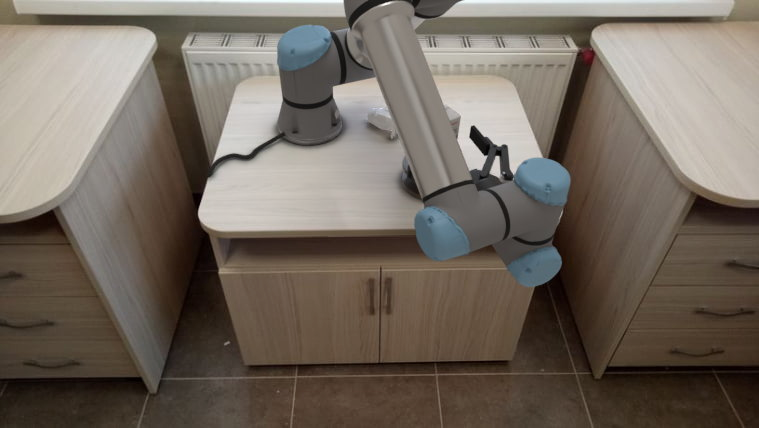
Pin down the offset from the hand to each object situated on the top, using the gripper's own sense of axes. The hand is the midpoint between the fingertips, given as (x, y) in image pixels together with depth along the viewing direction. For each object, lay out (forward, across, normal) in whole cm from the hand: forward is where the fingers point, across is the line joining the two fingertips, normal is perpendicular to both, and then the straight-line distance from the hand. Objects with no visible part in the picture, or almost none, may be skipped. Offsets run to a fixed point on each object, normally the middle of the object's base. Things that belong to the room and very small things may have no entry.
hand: (440, 137), depth 105 cm
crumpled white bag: (+25, -3, -14) cm, 28 cm away
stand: (+2, 0, -13) cm, 14 cm away
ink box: (+2, 0, -8) cm, 9 cm away
